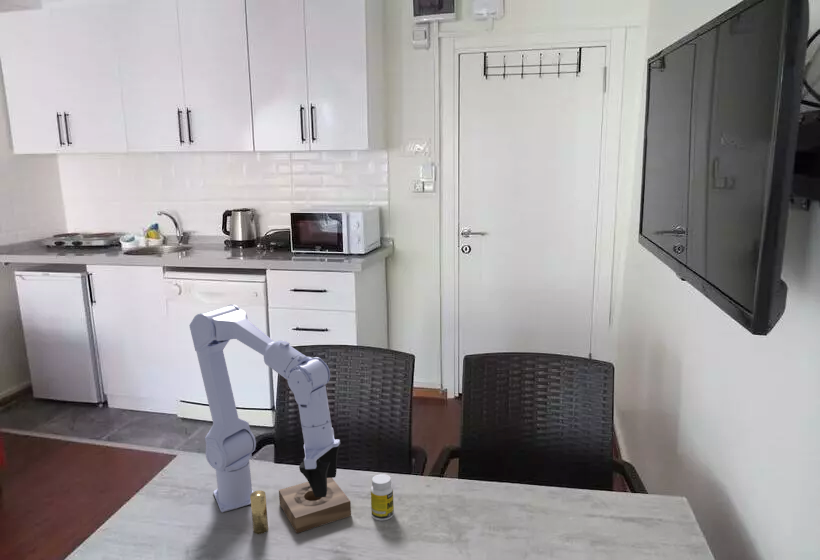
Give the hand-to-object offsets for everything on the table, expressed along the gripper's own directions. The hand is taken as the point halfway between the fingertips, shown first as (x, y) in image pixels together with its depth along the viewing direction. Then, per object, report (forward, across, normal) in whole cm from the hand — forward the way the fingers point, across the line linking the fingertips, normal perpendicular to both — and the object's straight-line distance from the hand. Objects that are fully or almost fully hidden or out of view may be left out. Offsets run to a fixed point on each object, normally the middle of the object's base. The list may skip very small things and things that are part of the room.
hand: (326, 486), depth 119 cm
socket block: (+10, +9, +6) cm, 14 cm away
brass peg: (+9, +1, +16) cm, 18 cm away
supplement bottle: (+12, +8, -9) cm, 17 cm away
